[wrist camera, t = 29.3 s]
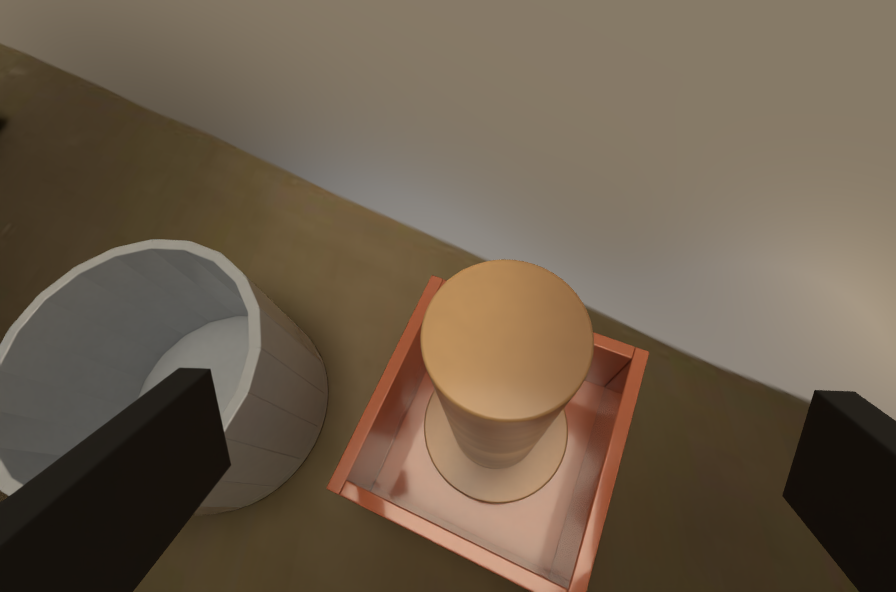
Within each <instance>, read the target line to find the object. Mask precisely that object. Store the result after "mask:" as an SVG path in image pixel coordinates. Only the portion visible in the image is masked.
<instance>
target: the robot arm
mask: <svg viewBox="0 0 896 592" xmlns="http://www.w3.org/2000/svg"><path fill="white" fill-rule="evenodd" d="M230 466H231V461H230V457H229V452H228V447H227V443H226V438H225V434H224V429H223V424H222V420H221V415H220V410H219V406H218V401H217V396H216V392H215V387H214V382H213V378H212V373H211V369H206V368H178V369H177V370H175V371H174V372H173V373H171V374H170V375H169V376H167V377H166V378H165V379H164V380H162V381H161V382H160V383H158V384H157V385H156V386H154V387H153V388H152V389H150V390H149V391H148V392H146V393H145V394H144V395H142V396H141V397H140V398H138V399H137V400H136V401H134V402H133V403H132V404H130V405H129V406H128V407H126V408H125V409H124V410H122V411H121V412H120V413H119V414H117V415H116V416H115V417H113V418H112V419H111V420H109V421H108V422H107V423H105V424H104V425H103V426H101V427H100V428H99V429H97V430H96V431H95V432H93V433H92V434H91V435H89V436H88V437H87V438H85V439H84V440H83V441H81V442H80V443H79V444H78V445H76V446H75V447H74V448H72V449H71V450H70V451H68V452H67V453H66V454H64V455H63V456H62V457H60V458H59V459H58V460H56V461H55V462H54V463H52V464H51V465H50V466H48V467H47V468H46V469H44V470H43V471H42V472H40V473H39V474H38V475H36V476H35V477H34V478H33V479H31V480H30V481H29V482H27V483H26V484H25V485H23V486H22V487H21V488H19V489H18V490H17V491H15V492H14V493H13V494H11V495H10V496H9V497H7V498H6V499H5V500H3V501H1V502H0V592H133V591H134V589H135V588H136V587H137V586H138V584H139V583H140V582H141V581H142V579H143V578H144V577H145V575H146V574H147V573H148V572H149V570H150V569H151V568H152V566H153V565H154V564H155V563H156V561H157V560H158V559H159V557H160V556H161V555H162V554H163V552H164V551H165V550H166V548H167V547H168V546H169V545H170V543H171V542H172V541H173V539H174V538H175V537H176V536H177V534H178V533H179V532H180V530H181V529H182V528H183V527H184V525H185V524H186V523H187V521H188V520H189V519H190V518H191V516H192V515H193V514H194V512H195V511H196V510H197V509H198V507H199V506H200V505H201V504H202V502H203V501H204V500H205V498H206V497H207V496H208V495H209V493H210V492H211V491H212V489H213V488H214V487H215V486H216V484H217V483H218V482H219V480H220V479H221V478H222V477H223V475H224V474H225V473H226V471H227V470H228V469H229V468H230ZM782 496H783V497H784V498H785V500H786V501H787V502H788V503H789V505H790V506H791V507H792V508H793V510H794V511H795V512H796V513H797V515H798V516H799V517H800V518H801V520H802V521H803V522H804V523H805V525H806V526H807V527H808V528H809V529H810V531H811V532H812V533H813V534H814V536H815V537H816V538H817V539H818V541H819V542H820V543H821V544H822V546H823V547H824V548H825V549H826V551H827V552H828V553H829V554H830V556H831V557H832V558H833V559H834V561H835V562H836V563H837V564H838V566H839V567H840V568H841V569H842V571H843V572H844V573H845V574H846V576H847V577H848V578H849V579H850V581H851V582H852V583H853V584H854V586H855V587H856V588H857V589H858V591H859V592H896V421H895V420H894V419H892V418H891V417H889V416H888V415H887V414H885V413H883V412H882V411H881V410H880V409H878V408H877V407H875V406H874V405H873V404H871V403H870V402H868V401H867V400H866V399H864V398H862V397H861V396H860V395H859V394H857V393H856V392H850V391H822V390H815V391H814V394H813V397H812V401H811V404H810V407H809V410H808V414H807V417H806V420H805V423H804V427H803V430H802V433H801V437H800V440H799V443H798V446H797V450H796V453H795V456H794V459H793V463H792V466H791V469H790V473H789V476H788V479H787V482H786V486H785V489H784V492H783V495H782Z"/></svg>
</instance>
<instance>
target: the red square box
mask: <svg viewBox="0 0 896 592" xmlns="http://www.w3.org/2000/svg"><path fill="white" fill-rule="evenodd" d="M446 281H447V280H443V279H442V278H439V277H436V276H433V275H432V276H431V278H430V280H429V282H428V284H427V286H426V288H425V290H424V292H423V294H422V296H421V298H420V300H419V302H418V304H417V306H416V308H415V310H414V312H413V314H412V316H411V318H410V320H409V322H408V324H407V326H406V328H405V330H404V332H403V334H402V336H401V338H400V340H399V342H398V344H397V346H396V348H395V350H394V352H393V355H392V357H391V359H390V361H389V363H388V365H387V367H386V369H385V371H384V373H383V375H382V377H381V379H380V381H379V383H378V385H377V387H376V389H375V391H374V393H373V395H372V397H371V399H370V401H369V403H368V405H367V407H366V409H365V411H364V413H363V415H362V417H361V419H360V421H359V423H358V425H357V427H356V429H355V431H354V433H353V435H352V437H351V439H350V441H349V443H348V445H347V447H346V449H345V451H344V453H343V455H342V457H341V459H340V461H339V463H338V465H337V467H336V469H335V471H334V473H333V475H332V477H331V479H330V481H329V483H328V486H327V489H328V490H330V491H332V492H334V493H336V494H338V495H340V496H342V497H344V498H346V499H348V500H350V501H352V502H354V503H356V504H358V505H360V506H362V507H364V508H366V509H368V510H370V511H372V512H374V513H376V514H378V515H380V516H382V517H384V518H386V519H388V520H390V521H392V522H394V523H396V524H398V525H400V526H402V527H404V528H406V529H408V530H410V531H412V532H414V533H416V534H417V535H419V536H421V537H423V538H425V539H427V540H429V541H431V542H433V543H435V544H437V545H439V546H441V547H443V548H445V549H447V550H449V551H451V552H453V553H455V554H457V555H459V556H461V557H463V558H465V559H467V560H469V561H471V562H473V563H475V564H477V565H479V566H481V567H483V568H485V569H487V570H489V571H491V572H493V573H495V574H497V575H499V576H501V577H503V578H505V579H507V580H509V581H511V582H513V583H515V584H517V585H519V586H521V587H523V588H525V589H527V590H529V591H531V592H586V591H587V588H588V584H589V580H590V576H591V572H592V569H593V565H594V561H595V557H596V553H597V550H598V546H599V542H600V538H601V534H602V531H603V527H604V523H605V519H606V515H607V512H608V508H609V504H610V500H611V496H612V493H613V489H614V485H615V481H616V477H617V474H618V470H619V466H620V462H621V458H622V455H623V451H624V447H625V443H626V439H627V436H628V432H629V428H630V424H631V420H632V417H633V413H634V409H635V405H636V401H637V398H638V394H639V390H640V386H641V382H642V379H643V375H644V371H645V367H646V363H647V359H648V356H649V352H648V351H645V350H642V349H639V348H635V347H634V346H631V345H628V344H625V343H622V342H620V341H617V340H614V339H611V338H608V337H605V336H603V335H600V334H597V333H594V332H593V333H594V353H593V359H592V363H591V367H590V369H589V372H588V374H587V377H586V379H585V380H584V382H583V384H582V386H581V387H580V388H579V390H578V391H577V392H576V393H575V395H574V396H573V397H572V399H571V400H570V401H569V402H568V404H567V405H566V406H565V407H564V410H565V413H566V417H567V424H568V440H567V447H566V451H565V455H564V457H563V460H562V463H561V465H560V466H559V468H558V470H557V472H556V473H555V475H554V476H553V477H552V479H551V480H550V481H549V482H548V483H547V484H546V485H545V486H544V487H543V488H541V489H540V490H539V491H537V492H536V493H534V494H532V495H530V496H529V497H527V498H524V499H521V500H519V501H515V502H510V503H502V504H493V503H485V502H481V501H477V500H474V499H472V498H469V497H467V496H465V495H464V494H462V493H460V492H458V491H457V490H456V489H454V488H453V487H452V486H451V485H449V484H448V483H447V482H446V481H445V480H444V479H443V477H442V476H441V475H440V474H439V472H438V471H437V469H436V468H435V466H434V464H433V463H432V460H431V458H430V456H429V453H428V450H427V447H426V443H425V436H424V419H425V412H426V408H427V405H428V402H429V399H430V397H431V395H432V393H433V391H434V386H433V384H432V381H431V379H430V377H429V374H428V372H427V369H426V367H425V364H424V360H423V357H422V352H421V342H420V334H421V325H422V321H423V318H424V314H425V312H426V309H427V307H428V305H429V303H430V301H431V300H432V298H433V296H434V295H435V294H436V292H437V291H438V290H439V288H440V287H441V286H442V285H443V284H444V283H445V282H446Z"/></svg>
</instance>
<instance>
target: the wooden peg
mask: <svg viewBox="0 0 896 592" xmlns="http://www.w3.org/2000/svg"><path fill="white" fill-rule="evenodd" d="M420 342H421V352H422V357H423V360H424V364H425V367H426V369H427V372H428V374H429V377H430V379H431V381H432V384H433V386H434V391H433V393H432V395H431V397H430V399H429V402H428V405H427V408H426V412H425V419H424V436H425V443H426V447H427V450H428V453H429V456H430V458H431V460H432V463H433V464H434V466H435V468H436V469H437V471H438V472H439V474H440V475H441V476H442V477H443V479H444V480H445V481H446V482H447V483H448V484H449V485H451V486H452V487H453V488H454V489H456V490H457V491H458V492H460V493H462V494H464V495H465V496H467V497H469V498H472V499H474V500H477V501H481V502H485V503H493V504H502V503H510V502H515V501H519V500H521V499H524V498H527V497H529V496H530V495H532V494H534V493H536V492H537V491H539V490H540V489H541V488H543V487H544V486H545V485H546V484H547V483H548V482H549V481H550V480H551V479H552V477H553V476H554V475H555V473H556V472H557V470H558V468H559V466H560V465H561V463H562V460H563V457H564V455H565V451H566V447H567V440H568V424H567V417H566V413H565V410H564V407H565V406H566V405H567V404H568V402H569V401H570V400H571V399H572V397H573V396H574V395H575V393H576V392H577V391H578V390H579V388H580V387H581V386H582V384H583V382H584V380H585V379H586V377H587V374H588V372H589V369H590V367H591V363H592V359H593V353H594V333H593V329H592V324H591V321H590V318H589V315H588V312H587V310H586V308H585V306H584V304H583V303H582V301H581V300H580V298H579V297H578V295H577V294H576V293H575V292H574V290H573V289H572V288H571V287H570V286H569V285H568V284H567V283H566V282H564V281H563V280H562V279H561V278H559V277H558V276H557V275H555V274H554V273H552V272H550V271H548V270H546V269H544V268H542V267H540V266H537V265H535V264H531V263H528V262H524V261H517V260H492V261H487V262H482V263H479V264H476V265H472V266H470V267H468V268H466V269H464V270H462V271H460V272H459V273H457V274H455V275H454V276H453V277H451V278H450V279H449V280H448V281H446V282H445V283H444V284H443V285H442V286H441V287H440V288H439V290H438V291H437V292H436V294H435V295H434V296H433V298H432V300H431V301H430V303H429V305H428V307H427V309H426V312H425V314H424V318H423V321H422V325H421V334H420Z"/></svg>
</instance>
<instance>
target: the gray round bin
mask: <svg viewBox="0 0 896 592" xmlns="http://www.w3.org/2000/svg"><path fill="white" fill-rule="evenodd" d="M178 368H206V369H211V373H212V378H213V382H214V387H215V392H216V396H217V401H218V406H219V410H220V415H221V420H222V424H223V429H224V434H225V438H226V443H227V447H228V452H229V457H230V461H231V466H230V468H229V469H228V470H227V471H226V473H225V474H224V475H223V477H222V478H221V479H220V480H219V482H218V483H217V484H216V486H215V487H214V488H213V489H212V491H211V492H210V493H209V495H208V496H207V497H206V498H205V500H204V501H203V502H202V504H201V505H200V506H199V507H198V509H197V510H196V511H195V512H194V514H193V515H210V514H214V513H224V512H228V511H233V510H237V509H240V508H243V507H246V506H249V505H251V504H253V503H255V502H257V501H259V500H261V499H263V498H264V497H266V496H267V495H269V494H270V493H272V492H273V491H275V490H276V489H277V488H279V487H280V486H281V485H282V484H283V483H285V482H286V481H287V480H288V479H289V478H290V477H291V476H292V475H293V474H294V473H295V471H296V470H297V469H298V468H299V467H300V465H301V464H302V463H303V462H304V460H305V459H306V458H307V456H308V454H309V453H310V451H311V449H312V448H313V446H314V444H315V442H316V440H317V438H318V435H319V433H320V431H321V428H322V425H323V422H324V418H325V414H326V409H327V401H328V382H327V375H326V370H325V366H324V363H323V361H322V358H321V356H320V354H319V352H318V350H317V348H316V346H315V345H314V344H313V342H312V341H311V340H310V338H309V337H308V336H307V335H306V334H305V333H304V332H303V331H302V330H301V329H300V328H299V327H298V326H297V325H296V324H295V323H294V322H293V321H292V320H291V319H290V318H289V317H288V316H287V315H286V314H285V313H284V312H283V311H282V310H281V309H280V308H278V307H277V306H276V305H275V304H274V303H273V302H272V301H271V300H270V299H269V298H268V297H267V296H266V295H265V294H264V293H263V292H262V291H261V290H260V289H259V288H258V287H257V286H256V285H255V284H254V283H253V282H252V281H251V280H250V279H249V278H248V277H247V276H246V275H245V274H244V273H243V272H241V271H240V270H239V269H238V268H237V267H236V266H235V265H234V264H233V263H232V262H231V261H230V260H229V259H228V258H226V257H225V256H224V255H223V254H221V253H220V252H218V251H215V250H212V249H210V248H207V247H205V246H202V245H199V244H197V243H194V242H192V241H184V240H162V239H151V240H147V241H142V242H138V243H133V244H129V245H124V246H120V247H116V248H113V249H111V250H109V251H106V252H104V253H102V254H100V255H98V256H96V257H94V258H92V259H90V260H88V261H86V262H84V263H82V264H79V265H77V266H76V267H74V268H73V269H71V270H70V271H69V272H67V273H66V274H65V275H63V276H62V277H61V278H60V279H58V280H57V281H56V282H54V283H53V284H52V285H50V286H49V287H48V288H47V289H45V290H44V291H43V292H41V293H40V295H38V296H37V297H36V298H35V299H34V300H33V301H32V303H31V304H30V305H29V306H28V307H27V308H26V310H25V311H24V312H23V313H22V314H21V315H20V317H19V318H18V319H17V320H16V321H15V322H14V323H13V325H12V326H11V327H10V328H9V330H8V331H7V333H6V335H5V337H4V338H3V340H2V342H1V344H0V490H1V491H2V492H3V493H5V494H6V495H8V496H10V495H11V494H13V493H14V492H15V491H17V490H18V489H19V488H21V487H22V486H23V485H25V484H26V483H27V482H29V481H30V480H31V479H33V478H34V477H35V476H36V475H38V474H39V473H40V472H42V471H43V470H44V469H46V468H47V467H48V466H50V465H51V464H52V463H54V462H55V461H56V460H58V459H59V458H60V457H62V456H63V455H64V454H66V453H67V452H68V451H70V450H71V449H72V448H74V447H75V446H76V445H78V444H79V443H80V442H81V441H83V440H84V439H85V438H87V437H88V436H89V435H91V434H92V433H93V432H95V431H96V430H97V429H99V428H100V427H101V426H103V425H104V424H105V423H107V422H108V421H109V420H111V419H112V418H113V417H115V416H116V415H117V414H119V413H120V412H121V411H122V410H124V409H125V408H126V407H128V406H129V405H130V404H132V403H133V402H134V401H136V400H137V399H138V398H140V397H141V396H142V395H144V394H145V393H146V392H148V391H149V390H150V389H152V388H153V387H154V386H156V385H157V384H158V383H160V382H161V381H162V380H164V379H165V378H166V377H167V376H169V375H170V374H171V373H173V372H174V371H175V370H177V369H178Z"/></svg>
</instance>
